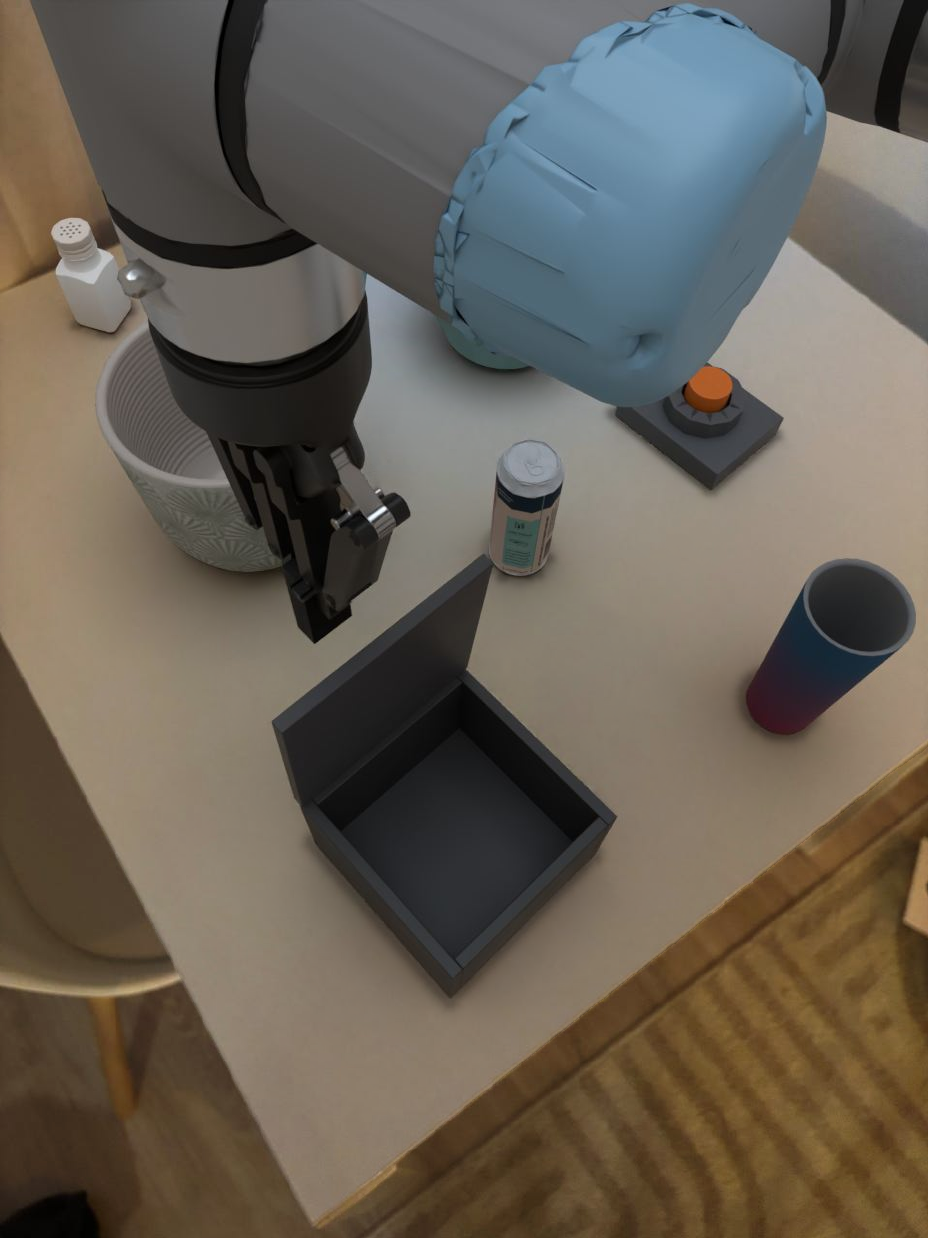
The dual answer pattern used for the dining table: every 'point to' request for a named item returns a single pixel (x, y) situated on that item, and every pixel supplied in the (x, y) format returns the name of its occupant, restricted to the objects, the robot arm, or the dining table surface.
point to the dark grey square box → (457, 829)
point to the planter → (173, 461)
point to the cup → (830, 642)
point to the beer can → (525, 506)
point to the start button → (708, 390)
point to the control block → (705, 431)
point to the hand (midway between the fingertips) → (325, 621)
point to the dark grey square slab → (381, 684)
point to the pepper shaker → (89, 277)
